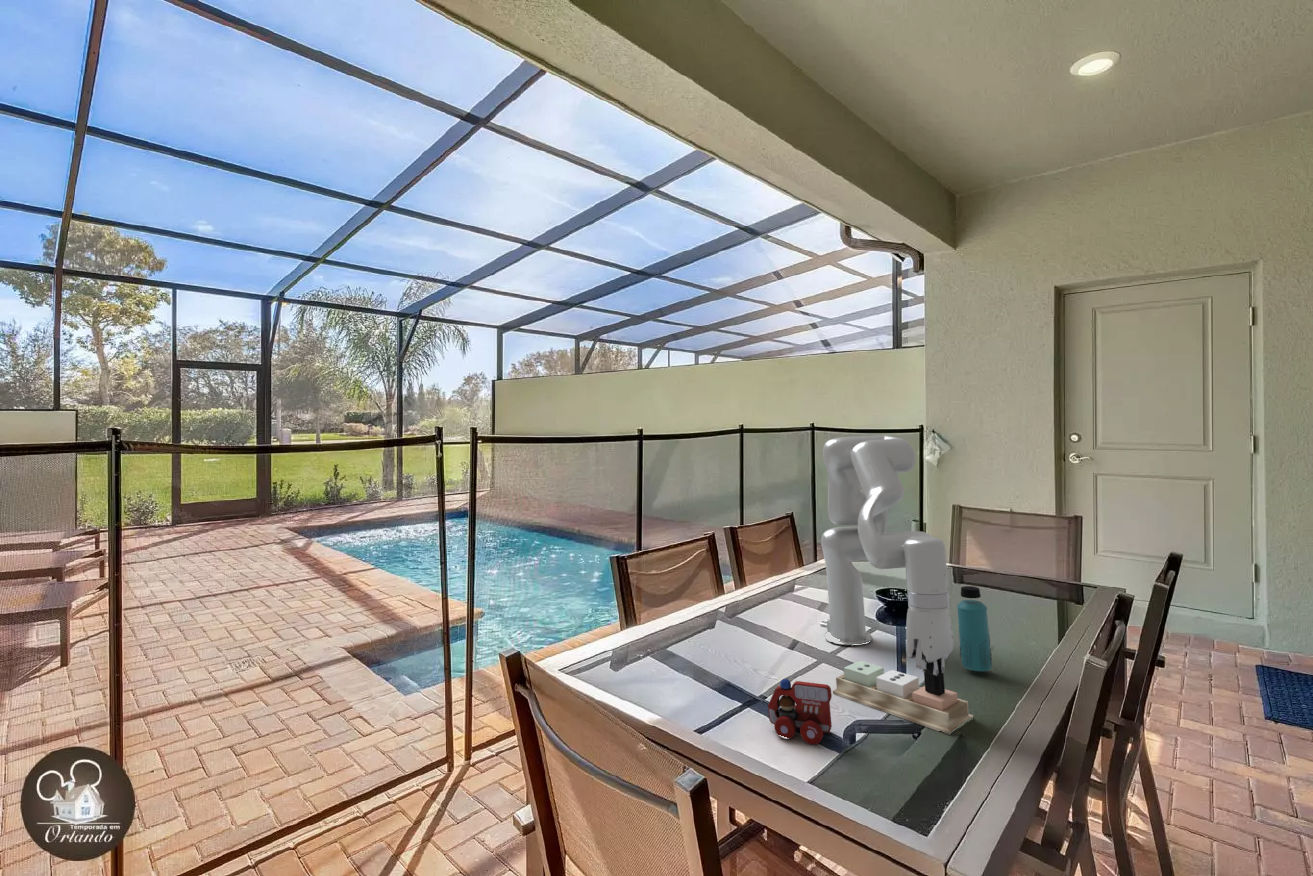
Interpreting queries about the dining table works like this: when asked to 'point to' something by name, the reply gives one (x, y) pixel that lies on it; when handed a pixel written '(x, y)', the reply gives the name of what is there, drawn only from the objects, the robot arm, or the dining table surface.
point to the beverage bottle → (974, 631)
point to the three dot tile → (897, 684)
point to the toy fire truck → (801, 710)
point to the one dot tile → (935, 699)
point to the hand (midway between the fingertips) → (935, 692)
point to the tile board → (904, 706)
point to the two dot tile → (863, 673)
